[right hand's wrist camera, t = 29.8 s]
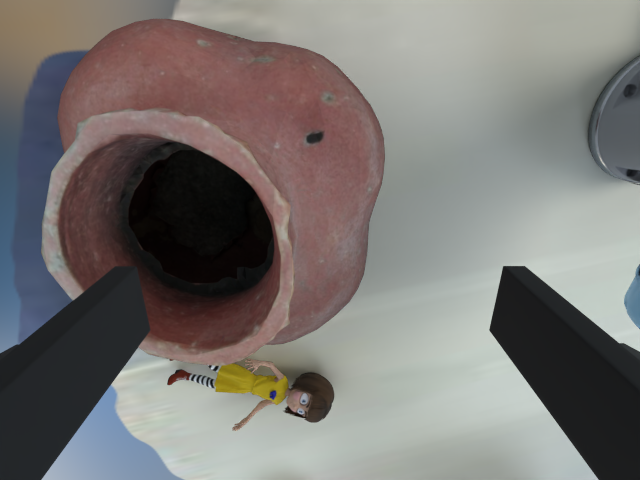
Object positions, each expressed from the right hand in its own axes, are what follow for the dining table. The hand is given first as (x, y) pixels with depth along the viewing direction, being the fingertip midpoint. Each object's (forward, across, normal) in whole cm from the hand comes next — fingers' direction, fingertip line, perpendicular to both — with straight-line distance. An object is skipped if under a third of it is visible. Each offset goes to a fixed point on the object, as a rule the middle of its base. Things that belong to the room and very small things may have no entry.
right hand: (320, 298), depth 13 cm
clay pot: (+33, -9, -2) cm, 34 cm away
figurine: (+33, -10, -34) cm, 48 cm away
